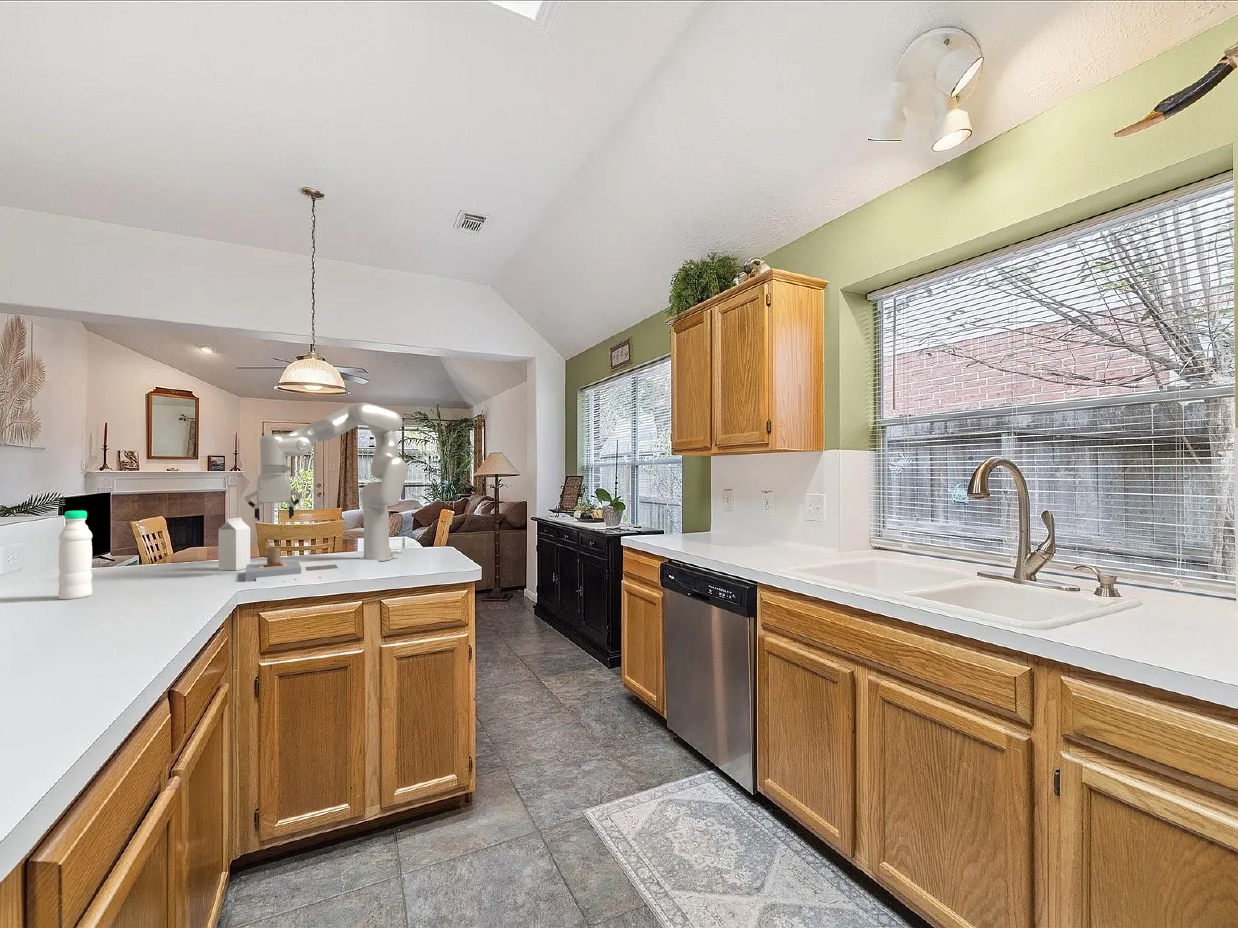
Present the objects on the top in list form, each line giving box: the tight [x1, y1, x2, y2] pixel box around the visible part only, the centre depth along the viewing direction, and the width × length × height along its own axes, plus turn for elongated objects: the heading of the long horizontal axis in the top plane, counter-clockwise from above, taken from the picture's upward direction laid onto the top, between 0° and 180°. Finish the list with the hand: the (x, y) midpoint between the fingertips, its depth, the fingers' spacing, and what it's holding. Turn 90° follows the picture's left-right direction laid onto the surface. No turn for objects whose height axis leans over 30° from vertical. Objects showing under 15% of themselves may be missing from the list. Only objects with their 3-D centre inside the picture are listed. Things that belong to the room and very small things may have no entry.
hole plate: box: [244, 560, 302, 582], centre depth 199 cm, size 16×20×3 cm
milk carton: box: [217, 517, 251, 571], centre depth 212 cm, size 7×7×19 cm
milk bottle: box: [57, 510, 93, 601], centre depth 164 cm, size 7×7×25 cm
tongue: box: [304, 564, 339, 572], centre depth 207 cm, size 10×10×1 cm
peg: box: [266, 547, 282, 567], centre depth 199 cm, size 4×4×9 cm
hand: (274, 519), depth 199 cm, fingers open, 9 cm apart
